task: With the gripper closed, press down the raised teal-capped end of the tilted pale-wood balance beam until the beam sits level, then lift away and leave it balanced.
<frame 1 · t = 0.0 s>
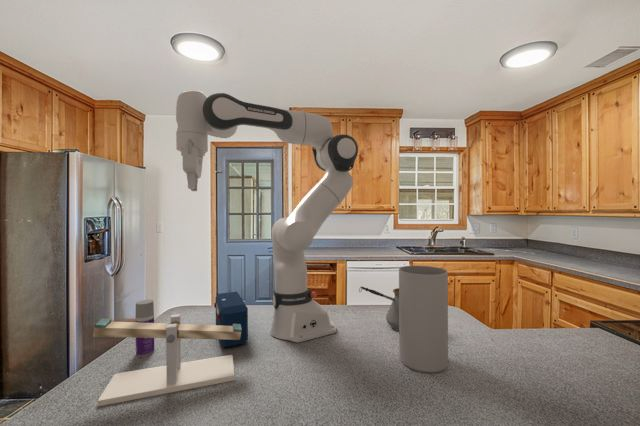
hand: (192, 190, 89), 48 cm above the countertop, fingers open, 8 cm apart
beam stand: (174, 379, 72), on the countertop
radio: (230, 336, 97), on the countertop
coffee pot: (389, 328, 102), on the countertop
container: (145, 353, 85), on the countertop
cylinder vase: (423, 362, 79), on the countertop
beam: (173, 330, 72), point 12 cm above the countertop, hinge at -10.0°
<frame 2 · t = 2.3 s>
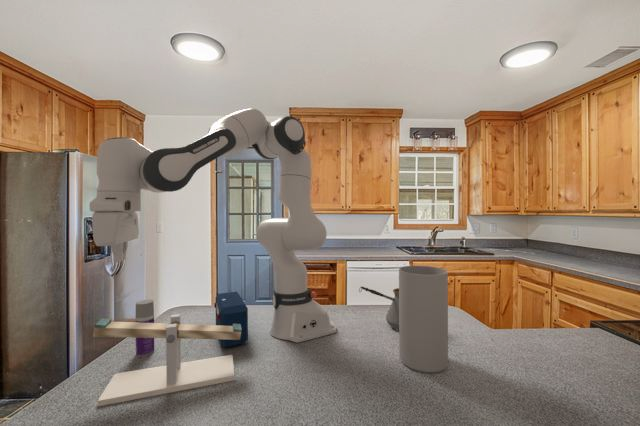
hand: (119, 261, 71), 29 cm above the countertop, fingers closed
nothing on the countertop moved.
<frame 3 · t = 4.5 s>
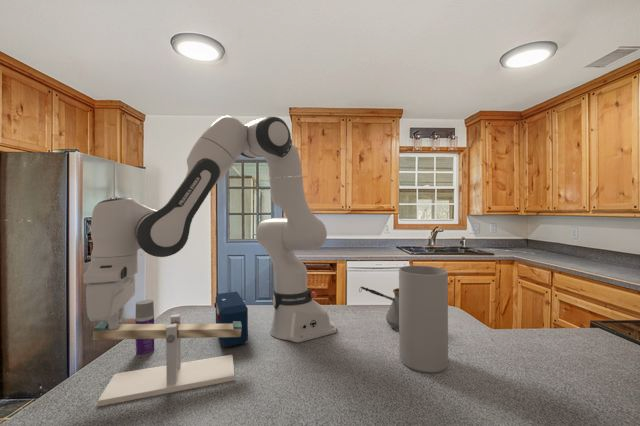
hand: (115, 327, 67), 15 cm above the countertop, fingers closed, pressing on beam
beam: (173, 330, 72), point 12 cm above the countertop, hinge at -7.3°, touching gripper
everything else where it was.
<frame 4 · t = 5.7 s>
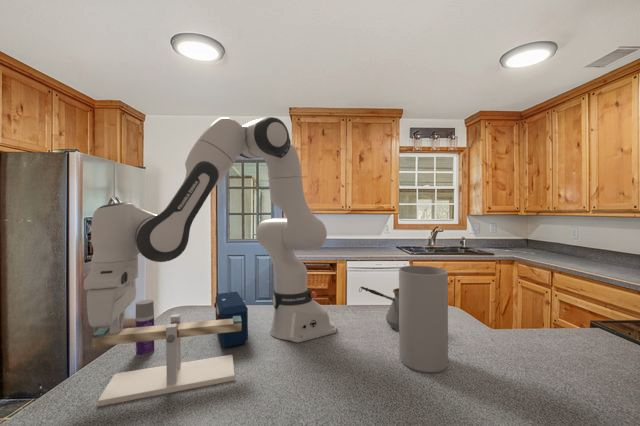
hand: (116, 331, 68), 14 cm above the countertop, fingers closed
beam: (173, 330, 72), point 12 cm above the countertop, hinge at -1.9°
everything else where it was.
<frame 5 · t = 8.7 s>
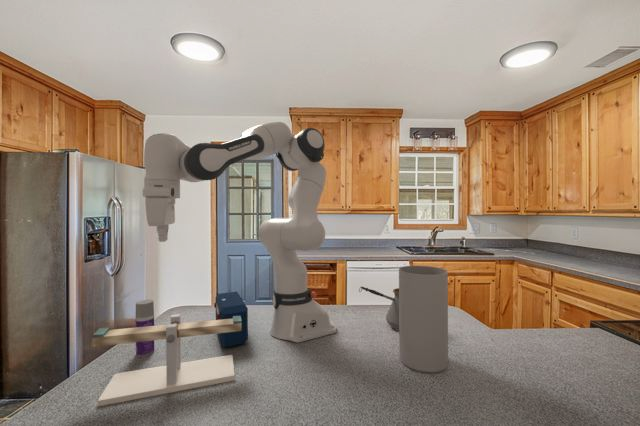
hand: (163, 241, 81), 33 cm above the countertop, fingers closed
nothing on the countertop moved.
at the end: beam at -2° (first picture: -10°); radio moved 0.3 cm from its start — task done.
